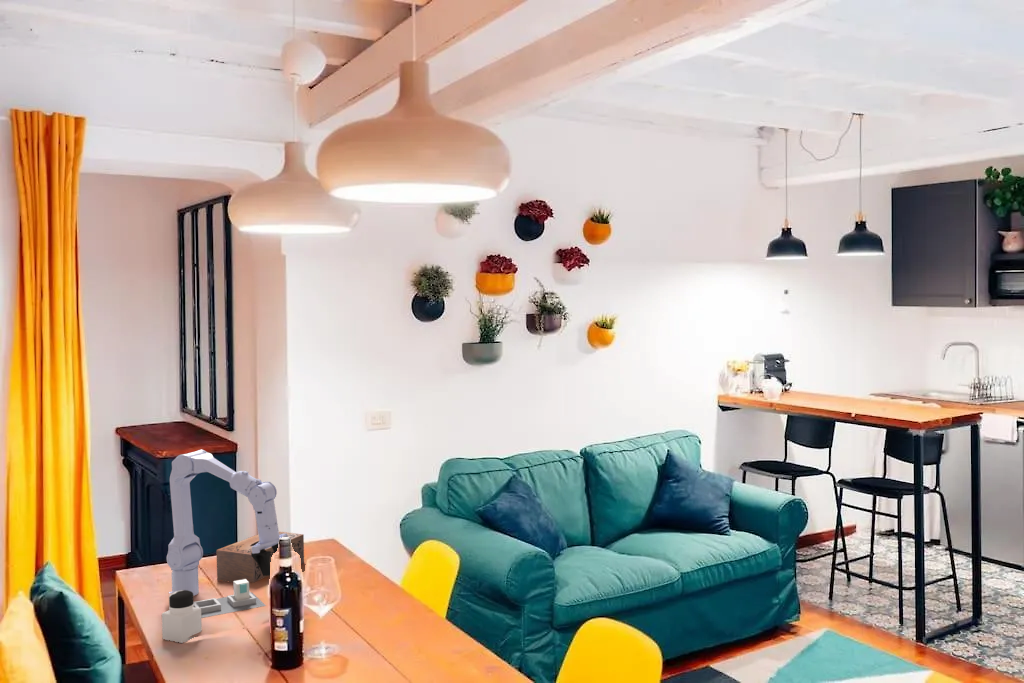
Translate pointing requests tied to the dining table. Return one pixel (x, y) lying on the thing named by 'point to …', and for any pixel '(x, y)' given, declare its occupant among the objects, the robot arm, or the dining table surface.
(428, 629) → the dining table surface
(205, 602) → the grey flat plate
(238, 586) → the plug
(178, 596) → the medicine bottle
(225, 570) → the tissue box cover
